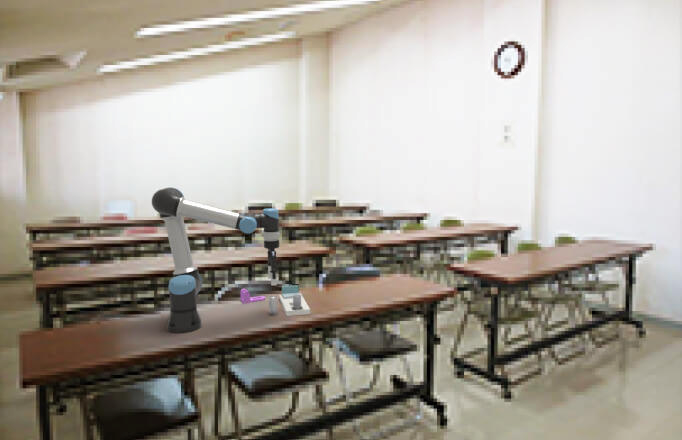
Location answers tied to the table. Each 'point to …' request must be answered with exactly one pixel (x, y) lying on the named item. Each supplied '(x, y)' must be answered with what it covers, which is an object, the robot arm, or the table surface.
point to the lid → (290, 291)
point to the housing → (294, 305)
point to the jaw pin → (272, 305)
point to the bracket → (246, 296)
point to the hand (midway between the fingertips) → (272, 281)
